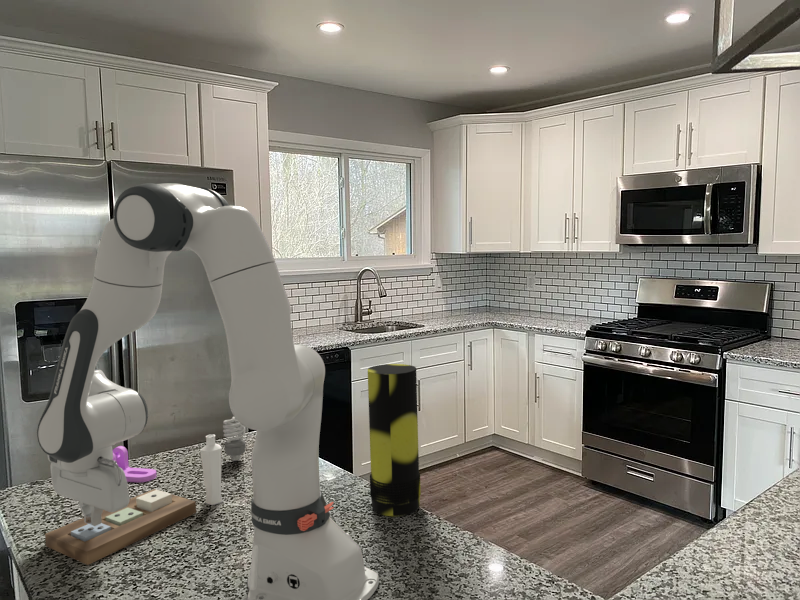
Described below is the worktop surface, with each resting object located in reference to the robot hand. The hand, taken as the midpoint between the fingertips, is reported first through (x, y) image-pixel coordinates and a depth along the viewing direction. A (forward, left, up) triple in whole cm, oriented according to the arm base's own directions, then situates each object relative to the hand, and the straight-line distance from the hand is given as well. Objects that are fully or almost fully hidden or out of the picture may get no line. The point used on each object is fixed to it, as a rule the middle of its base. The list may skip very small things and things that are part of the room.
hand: (93, 523), depth 115 cm
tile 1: (0, -14, -2) cm, 14 cm away
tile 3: (0, 0, -4) cm, 4 cm away
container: (-43, -42, -4) cm, 60 cm away
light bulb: (+9, -45, -4) cm, 46 cm away
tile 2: (0, -7, -4) cm, 8 cm away
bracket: (+25, -25, -4) cm, 35 cm away
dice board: (0, -7, -4) cm, 8 cm away
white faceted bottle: (-6, -25, -4) cm, 26 cm away
